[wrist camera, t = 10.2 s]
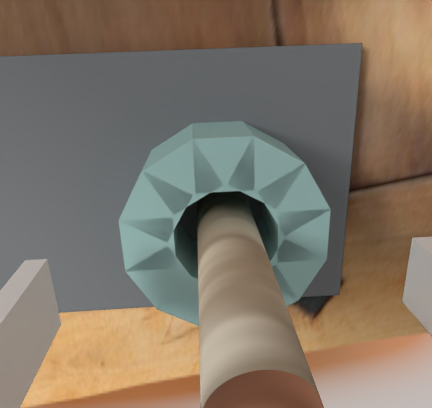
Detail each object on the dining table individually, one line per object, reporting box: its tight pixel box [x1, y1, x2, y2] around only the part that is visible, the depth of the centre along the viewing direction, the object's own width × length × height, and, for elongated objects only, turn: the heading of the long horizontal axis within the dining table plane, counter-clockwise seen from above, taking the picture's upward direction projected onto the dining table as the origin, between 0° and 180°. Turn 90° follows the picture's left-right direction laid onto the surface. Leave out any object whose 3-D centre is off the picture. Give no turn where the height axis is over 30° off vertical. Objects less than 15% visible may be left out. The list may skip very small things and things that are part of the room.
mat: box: [0, 43, 362, 312], centre depth 21 cm, size 20×14×1 cm
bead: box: [118, 121, 331, 326], centre depth 19 cm, size 9×9×4 cm
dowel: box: [197, 191, 324, 408], centre depth 14 cm, size 3×3×15 cm
